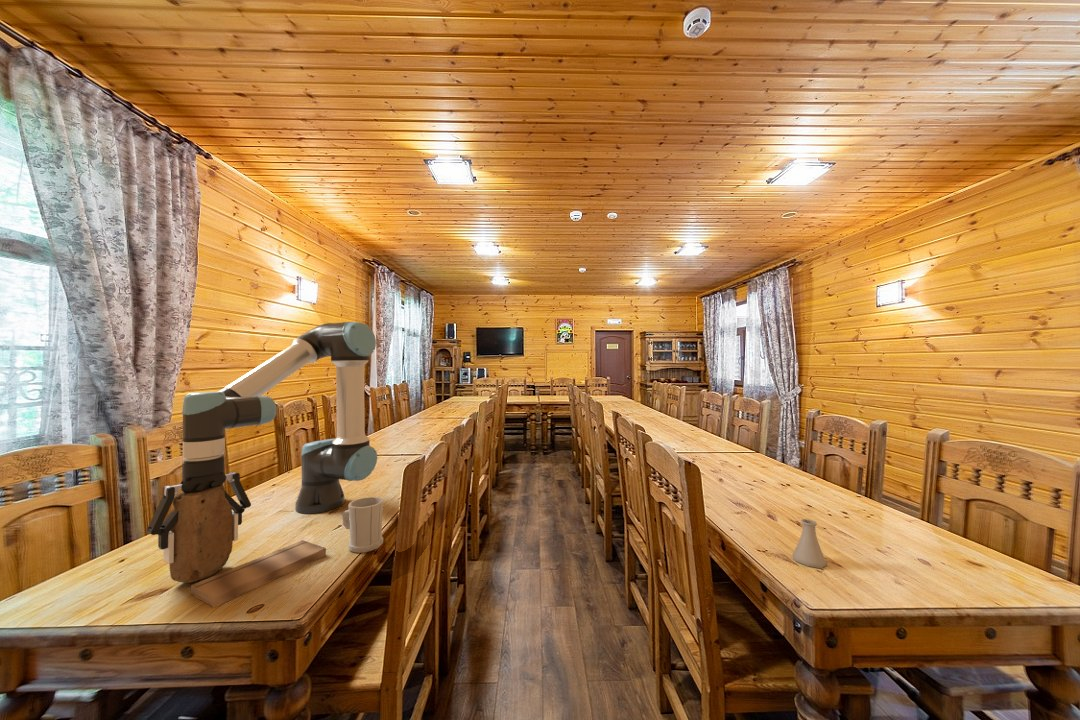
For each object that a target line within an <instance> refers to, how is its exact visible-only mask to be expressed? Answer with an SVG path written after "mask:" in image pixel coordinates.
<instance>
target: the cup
mask: <svg viewBox="0 0 1080 720" xmlns="http://www.w3.org/2000/svg"><path fill="white" fill-rule="evenodd" d="M347 506H348V509H347V510H343V512H342V525H343V527H344V528H345V529H346V530H349V541H348V544H347V545H348V550H349V551H351V552H352V553H355V554H356V553H359V554H362V553H369V552H371V551H372V552H373V551H375V550H376V549H378V548H380V547H381V546H382V544H384V536H383V532H382V529H383V528H382V525H383V511H384V510H383V508H384V498H382V497H380V496H365V497H362V498H356V499H354V500H352V501H350V502H349V503H348V505H347Z"/></svg>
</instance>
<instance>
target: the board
mask: <svg viewBox="0 0 1080 720" xmlns="http://www.w3.org/2000/svg"><path fill="white" fill-rule="evenodd" d="M326 552H327V548H326V547H325V546H321V545H318V544H315V543H312V542H309V541H308V540H300V541H297V542H294V543H292V544H290V545H288V546H285V547H283V548H280V549H278V550H275V551H272V552H269V553H268V554H265V555H262V556H261V557H258V558H255V559H253V560H250V561H248V562H245V563H242V564H240V565H237V566H235V567H233V568H231V569H228V570H225V571H223V572H220V573H218V574H216V575H215V574H214V575H213V576H209V577H207V578H204V579H202V580H200V581H199V582H198V581H197V582H196V583H193V584H191V585H190V595H191V596H193V597H194V598H196V599H199V600H200V601H201V602H204V603H205V604H207V605H209V606H211V607H213V608H216V607H218V606H221V605H223V604H225V603H228V602H229V601H231V600H233V599H235V598H238V597H240V596H242V595H244V594H247V593H248V592H251V591H253V590H255V589H257V588H260V587H261V586H264V585H266V584H268V583H270V582H272V581H274V580H276V579H279V578H281V577H283V576H285V575H287V574H290V573H292V572H293V571H296V570H298V569H300V568H302V567H305V566H307V565H309V564H311V563H313V562H315V561H317V560H320V559H322V558H324V557H326V556H327V553H326Z"/></svg>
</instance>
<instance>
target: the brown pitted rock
mask: <svg viewBox="0 0 1080 720" xmlns="http://www.w3.org/2000/svg"><path fill="white" fill-rule="evenodd" d="M225 491H226V489H225V486H224V484H222V485H220V486H218V487H214V488H209V489H205V490H202V491H201V492H197V493H184V492H183V491H181V492H180V493H177V495H175V496H174V500H173V502H172V506H173V509H172V510H173V511H172V510H171V511H172V512H173V513H174V512H176V511H178V510H179V514H178V521H177V522H176V524H175V525H174V526H173V528H172V529H171V530H170V531H171V532H173V533H174V563H171V564H169V574H170V578H171V580H172V581H174V582H178V583H187V584H188V583H194V582H198V581H199V580H200V581H202V580H205V579H208V578H210V577H212V575H213V576H214V575H215V574H216V573H217V572H218V571H220V569H222V568H223V567H224V566H225V565H226V564H227V563H228V561H229V558H230V555H231V553H232V550H233V543H234V541H233V515H232V512H233V510H232V509H231V507H230V504H229V502H228V500H227V499H226V498H225Z"/></svg>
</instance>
